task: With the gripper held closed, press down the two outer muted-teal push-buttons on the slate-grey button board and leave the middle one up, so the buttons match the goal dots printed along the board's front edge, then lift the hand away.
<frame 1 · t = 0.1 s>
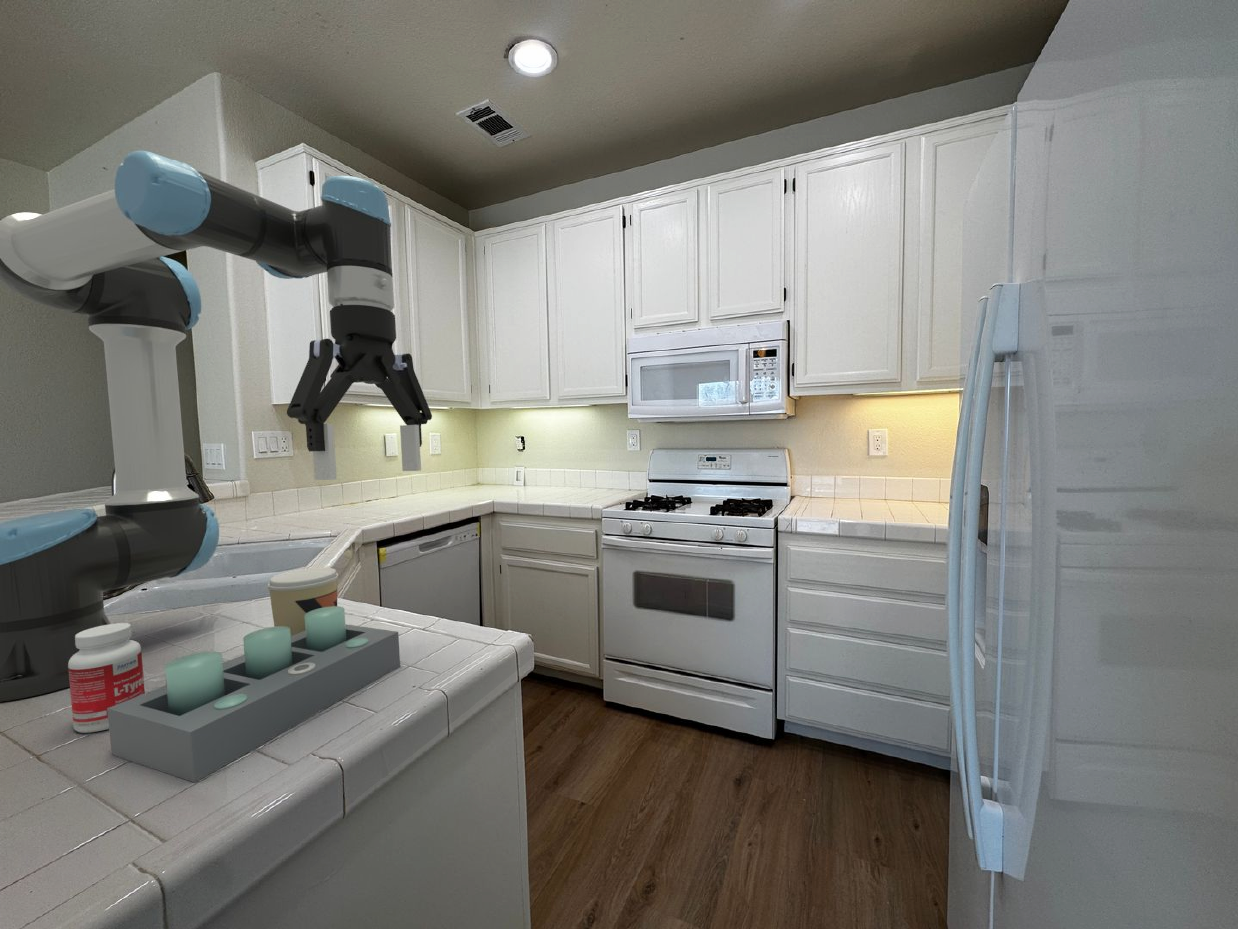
hand: (372, 475, 66), 28 cm above the counter, fingers open, 13 cm apart
coffee cup: (308, 651, 80), on the counter
button a: (195, 682, 56), point 6 cm above the counter, slide at 0.0 cm
pill bottle: (111, 721, 61), on the counter
button c: (325, 629, 71), point 6 cm above the counter, slide at 0.0 cm
button b: (268, 653, 64), point 6 cm above the counter, slide at 0.0 cm
board: (277, 703, 63), on the counter
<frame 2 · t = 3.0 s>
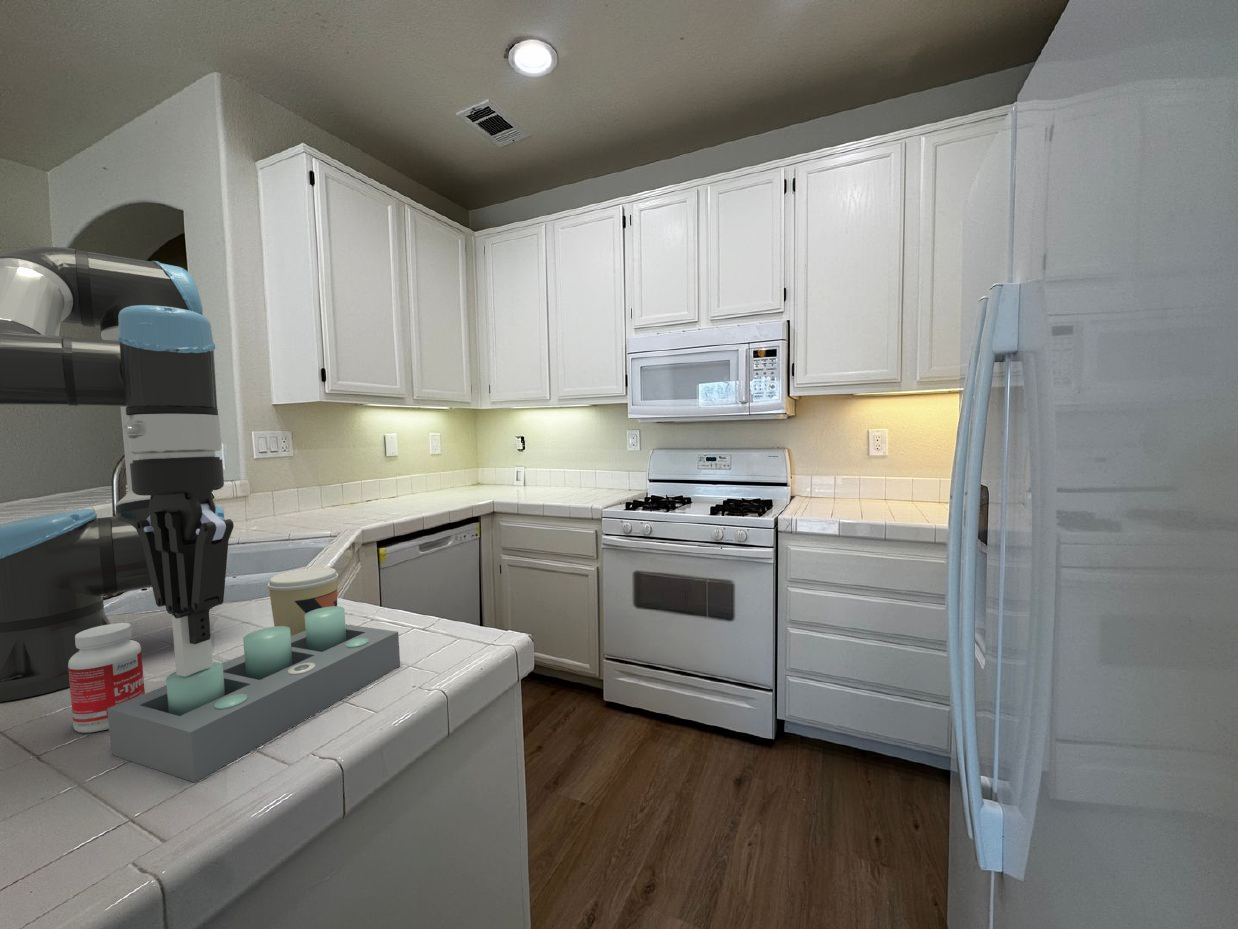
hand: (195, 670, 56), 8 cm above the counter, fingers closed
button a: (196, 694, 56), point 5 cm above the counter, slide at 1.3 cm, touching gripper
everything else where it was.
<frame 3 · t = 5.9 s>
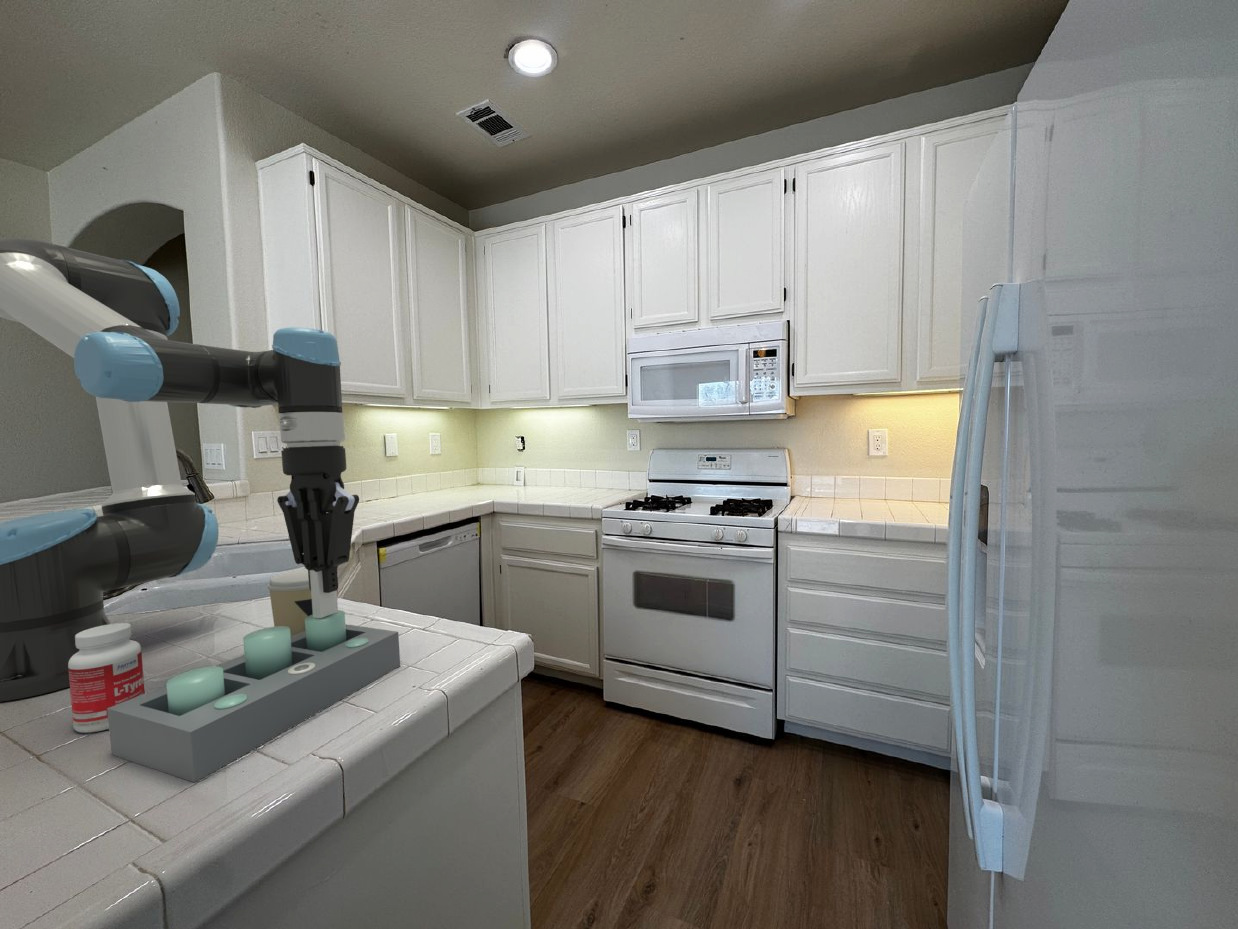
hand: (325, 614, 71), 8 cm above the counter, fingers closed
button a: (197, 698, 56), point 5 cm above the counter, slide at 1.8 cm
button c: (326, 633, 71), point 6 cm above the counter, slide at 0.6 cm, touching gripper
everything else where it was.
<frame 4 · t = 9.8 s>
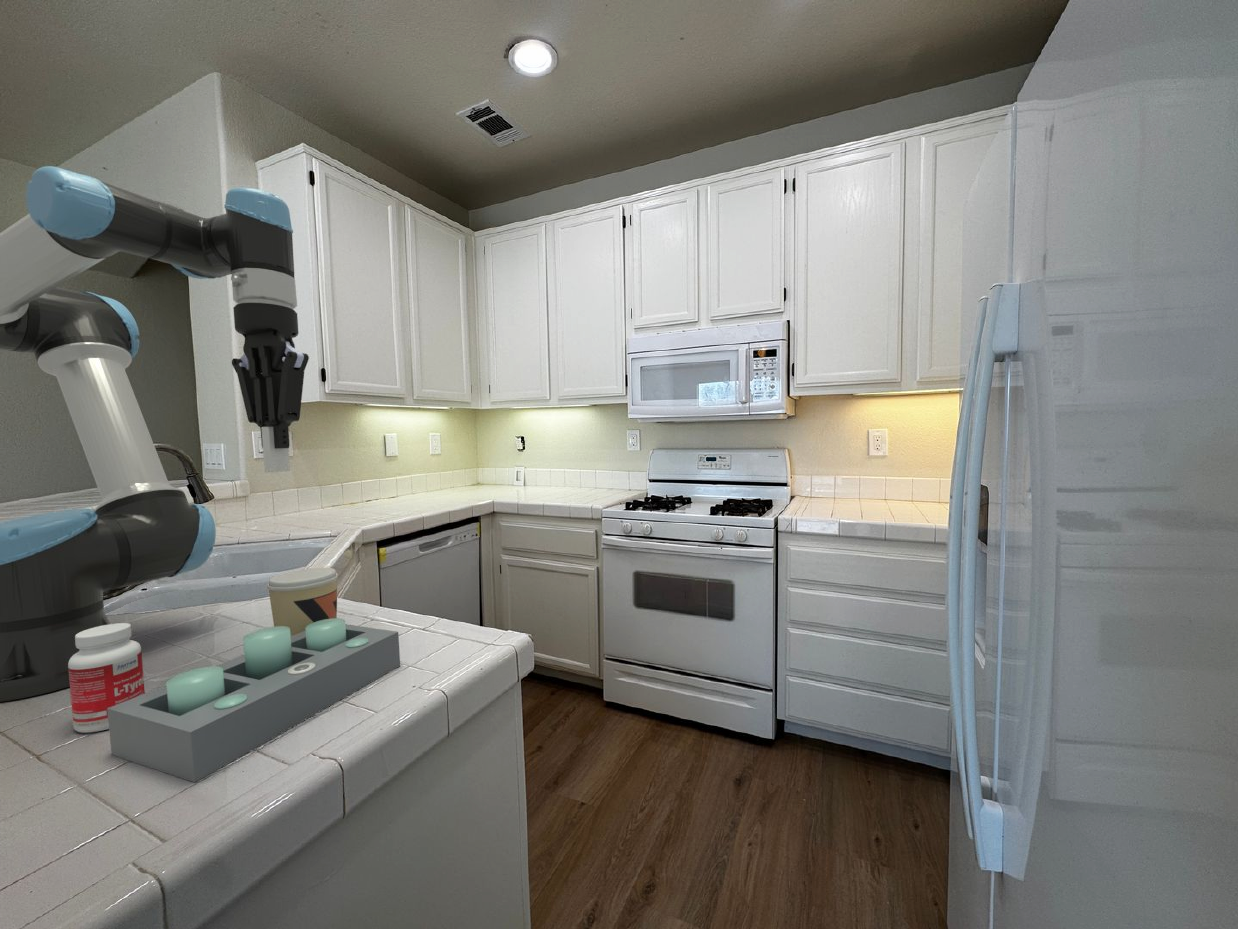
hand: (277, 471, 74), 28 cm above the counter, fingers closed
button c: (326, 642, 71), point 5 cm above the counter, slide at 1.8 cm
everything else where it was.
at the end: button a slide at 1.8 cm; button c slide at 1.8 cm; button b slide at 0.0 cm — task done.
